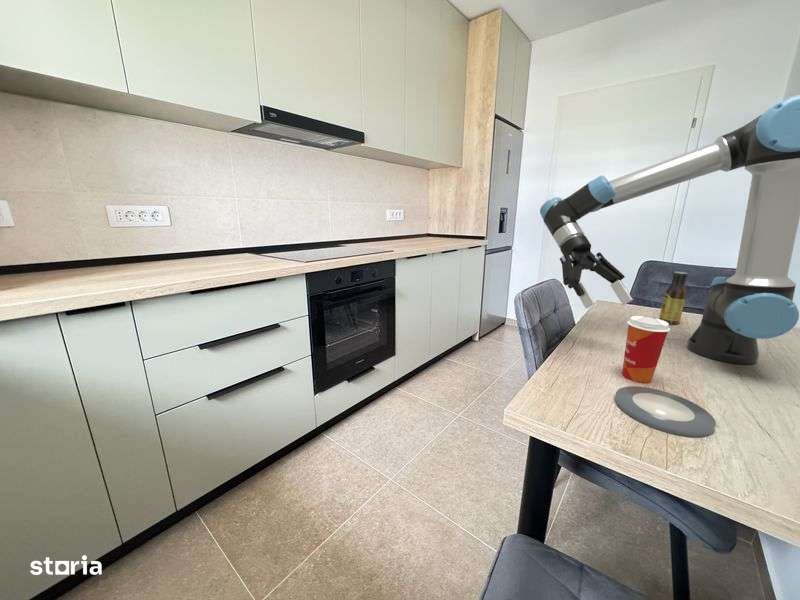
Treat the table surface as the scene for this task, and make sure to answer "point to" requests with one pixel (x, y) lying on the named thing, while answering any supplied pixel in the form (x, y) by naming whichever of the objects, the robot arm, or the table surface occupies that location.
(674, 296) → the sauce bottle
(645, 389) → the saucer
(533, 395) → the table surface
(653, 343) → the coffee cup
